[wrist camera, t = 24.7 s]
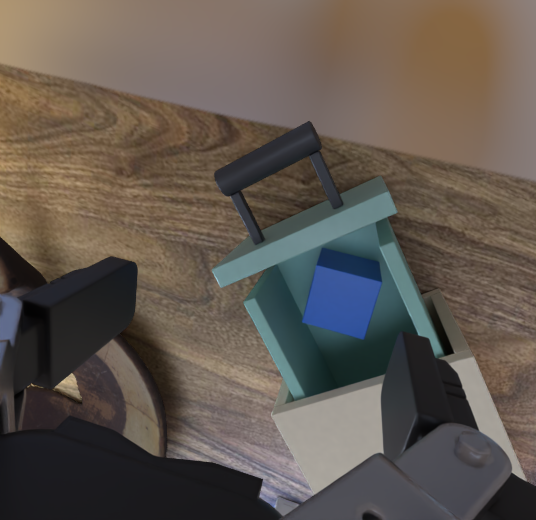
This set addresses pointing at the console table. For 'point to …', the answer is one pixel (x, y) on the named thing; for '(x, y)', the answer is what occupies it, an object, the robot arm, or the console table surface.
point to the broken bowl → (93, 379)
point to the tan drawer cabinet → (376, 411)
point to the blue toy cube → (343, 293)
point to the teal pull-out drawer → (303, 267)
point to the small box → (285, 506)
